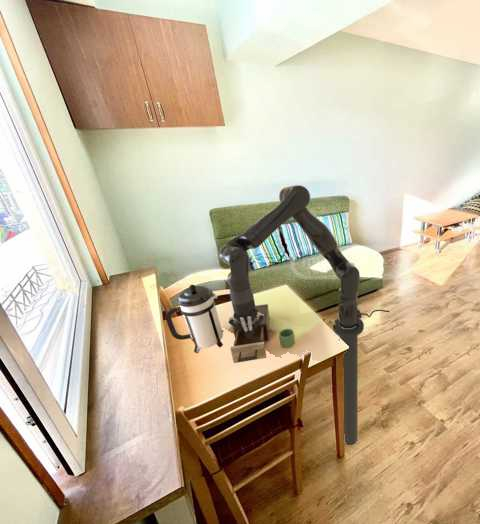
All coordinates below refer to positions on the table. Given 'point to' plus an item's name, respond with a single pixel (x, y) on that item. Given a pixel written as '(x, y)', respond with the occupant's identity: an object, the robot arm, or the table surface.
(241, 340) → the drawer
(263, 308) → the cabinet
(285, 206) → the robot arm
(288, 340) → the pot
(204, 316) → the coffee press
